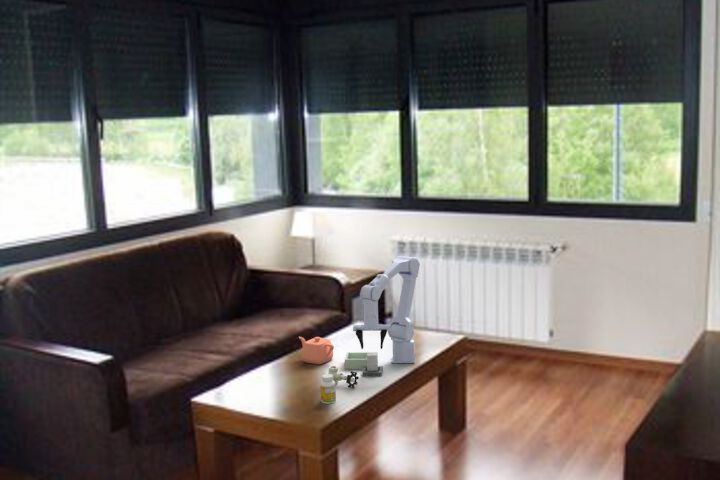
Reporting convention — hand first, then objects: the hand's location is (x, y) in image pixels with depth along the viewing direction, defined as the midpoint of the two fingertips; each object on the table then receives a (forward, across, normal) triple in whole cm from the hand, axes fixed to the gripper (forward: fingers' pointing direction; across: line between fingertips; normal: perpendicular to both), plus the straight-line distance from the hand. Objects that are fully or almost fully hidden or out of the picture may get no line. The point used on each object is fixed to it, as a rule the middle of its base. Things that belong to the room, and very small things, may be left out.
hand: (371, 348), depth 313 cm
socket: (+10, 0, 0) cm, 10 cm away
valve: (+11, -11, -14) cm, 21 cm away
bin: (+10, -7, +10) cm, 16 cm away
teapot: (+11, -25, +16) cm, 32 cm away
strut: (+10, 0, 0) cm, 10 cm away
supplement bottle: (+11, -14, -31) cm, 36 cm away
